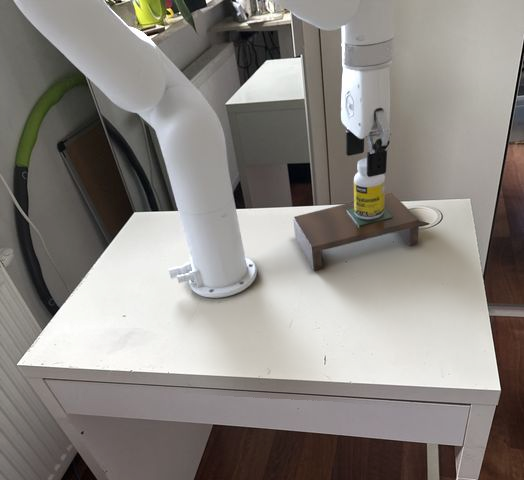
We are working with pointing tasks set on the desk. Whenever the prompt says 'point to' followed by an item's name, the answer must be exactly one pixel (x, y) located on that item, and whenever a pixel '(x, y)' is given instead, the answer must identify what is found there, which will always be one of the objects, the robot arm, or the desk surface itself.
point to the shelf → (351, 227)
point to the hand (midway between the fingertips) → (365, 163)
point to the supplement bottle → (368, 193)
